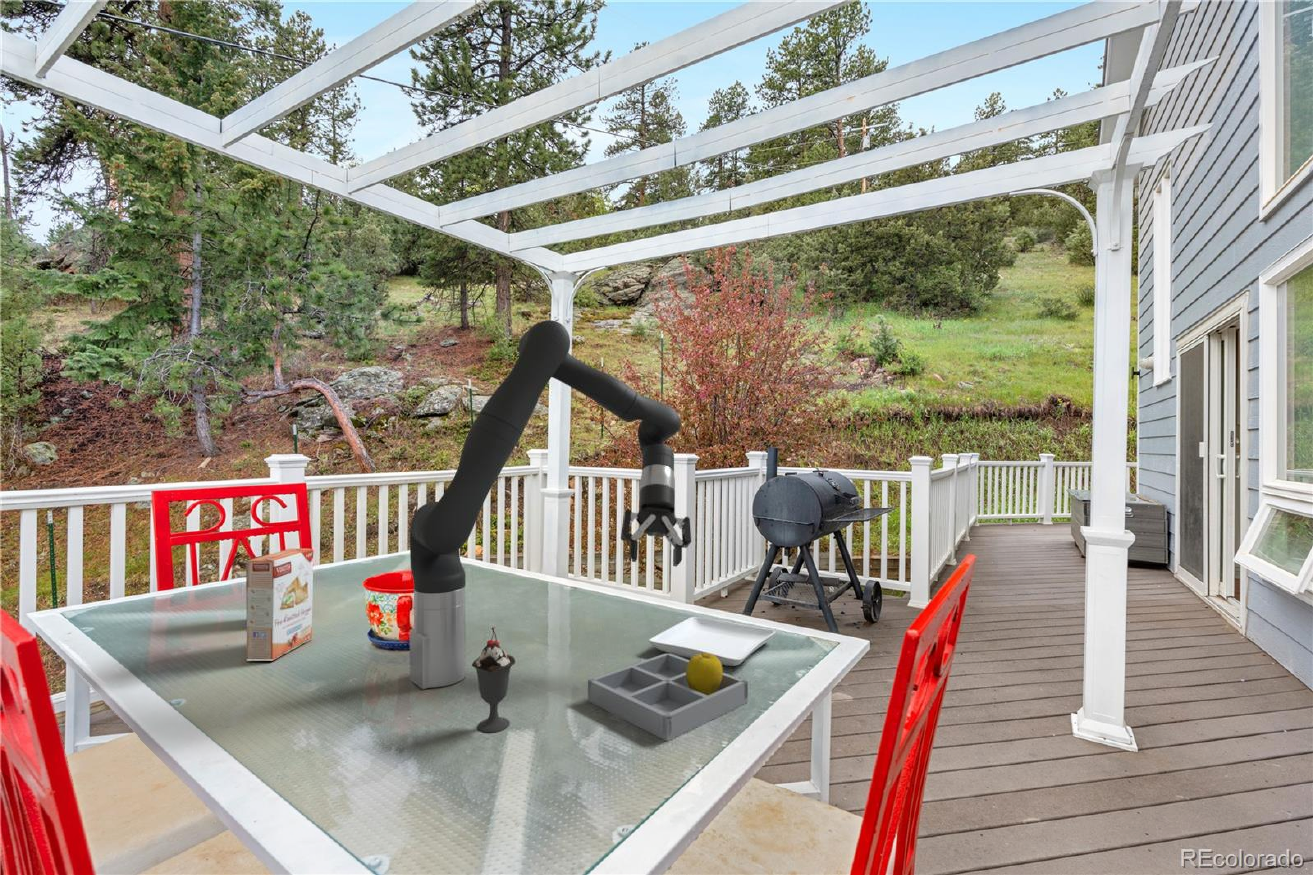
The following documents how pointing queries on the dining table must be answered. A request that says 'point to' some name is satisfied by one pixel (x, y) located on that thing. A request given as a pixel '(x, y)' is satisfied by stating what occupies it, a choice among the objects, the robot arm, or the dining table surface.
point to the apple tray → (663, 696)
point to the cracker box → (279, 602)
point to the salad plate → (712, 639)
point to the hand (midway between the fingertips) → (655, 563)
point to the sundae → (493, 682)
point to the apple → (704, 673)
